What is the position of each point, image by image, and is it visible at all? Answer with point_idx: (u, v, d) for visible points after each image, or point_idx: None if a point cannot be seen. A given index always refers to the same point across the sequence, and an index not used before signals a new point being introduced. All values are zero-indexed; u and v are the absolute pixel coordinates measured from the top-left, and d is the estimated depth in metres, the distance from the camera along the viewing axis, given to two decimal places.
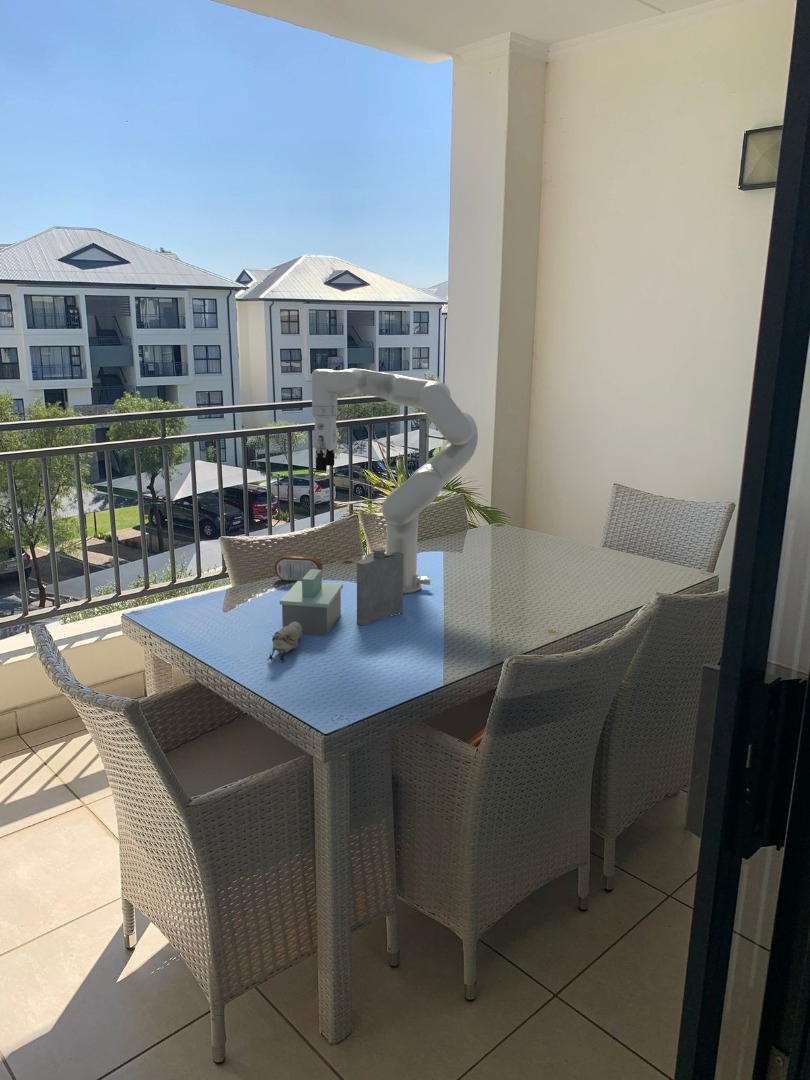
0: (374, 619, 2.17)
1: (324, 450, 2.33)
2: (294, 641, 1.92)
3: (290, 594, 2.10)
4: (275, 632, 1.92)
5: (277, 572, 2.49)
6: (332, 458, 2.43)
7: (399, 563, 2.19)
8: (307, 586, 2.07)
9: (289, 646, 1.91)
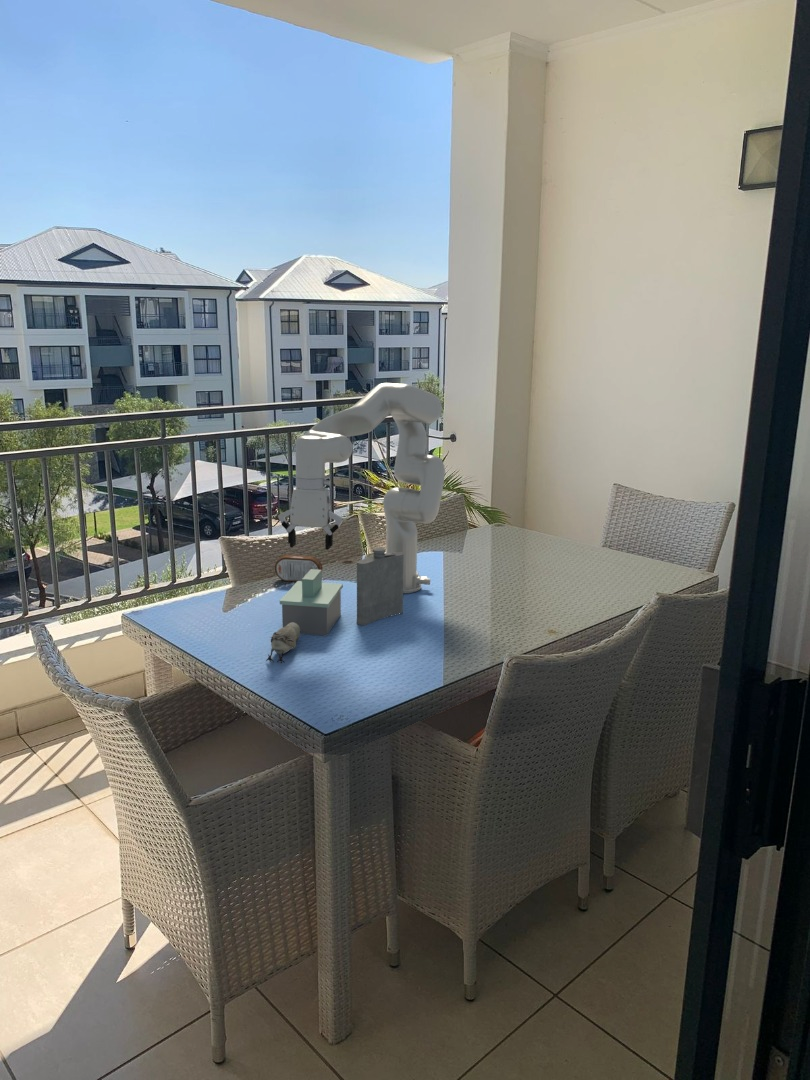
0: (374, 619, 2.17)
1: (329, 525, 2.08)
2: (292, 642, 1.92)
3: (290, 594, 2.10)
4: None
5: (277, 572, 2.49)
6: (295, 536, 2.10)
7: (399, 563, 2.19)
8: (307, 586, 2.07)
9: (287, 647, 1.91)
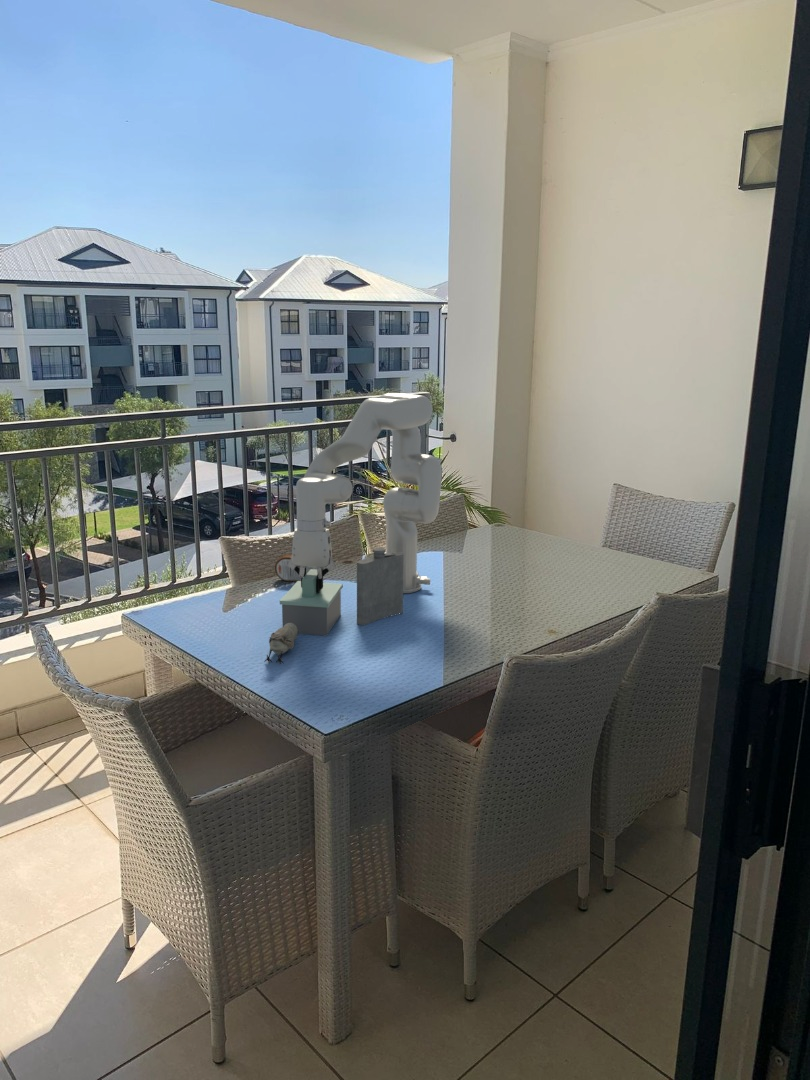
0: (374, 619, 2.17)
1: (323, 568, 2.11)
2: (290, 642, 1.92)
3: (290, 594, 2.10)
4: None
5: (277, 572, 2.49)
6: None
7: (399, 563, 2.19)
8: (307, 586, 2.07)
9: (286, 647, 1.91)
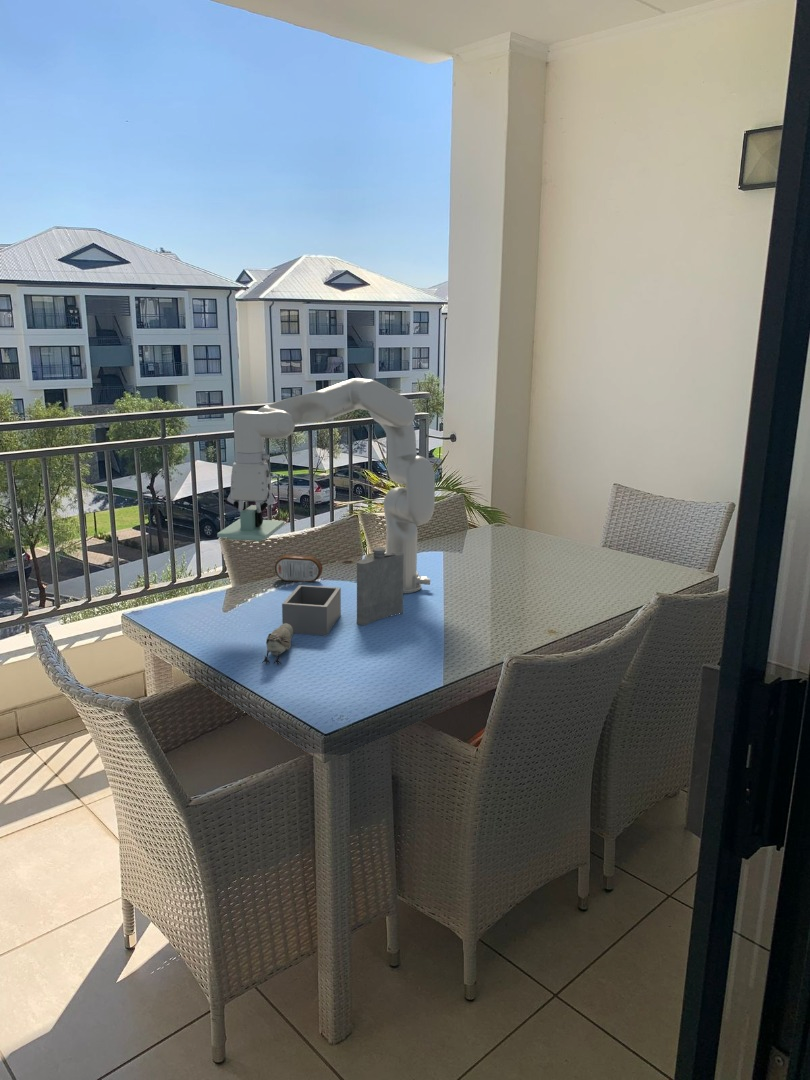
0: (374, 619, 2.17)
1: (263, 503, 2.11)
2: (287, 643, 1.91)
3: (229, 528, 2.10)
4: None
5: (277, 572, 2.49)
6: None
7: (399, 563, 2.19)
8: (246, 520, 2.07)
9: (283, 648, 1.90)
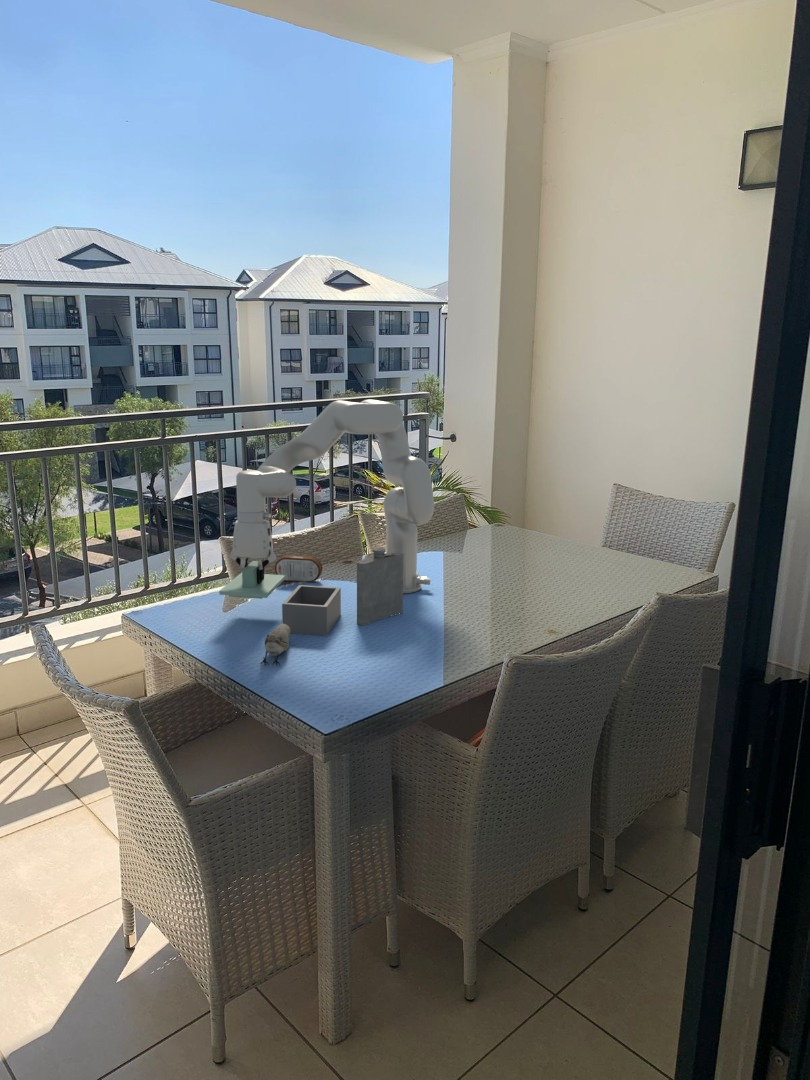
0: (374, 619, 2.17)
1: (264, 559, 2.15)
2: (286, 644, 1.91)
3: (231, 584, 2.14)
4: None
5: (277, 572, 2.49)
6: None
7: (399, 563, 2.19)
8: (247, 577, 2.11)
9: (282, 648, 1.90)
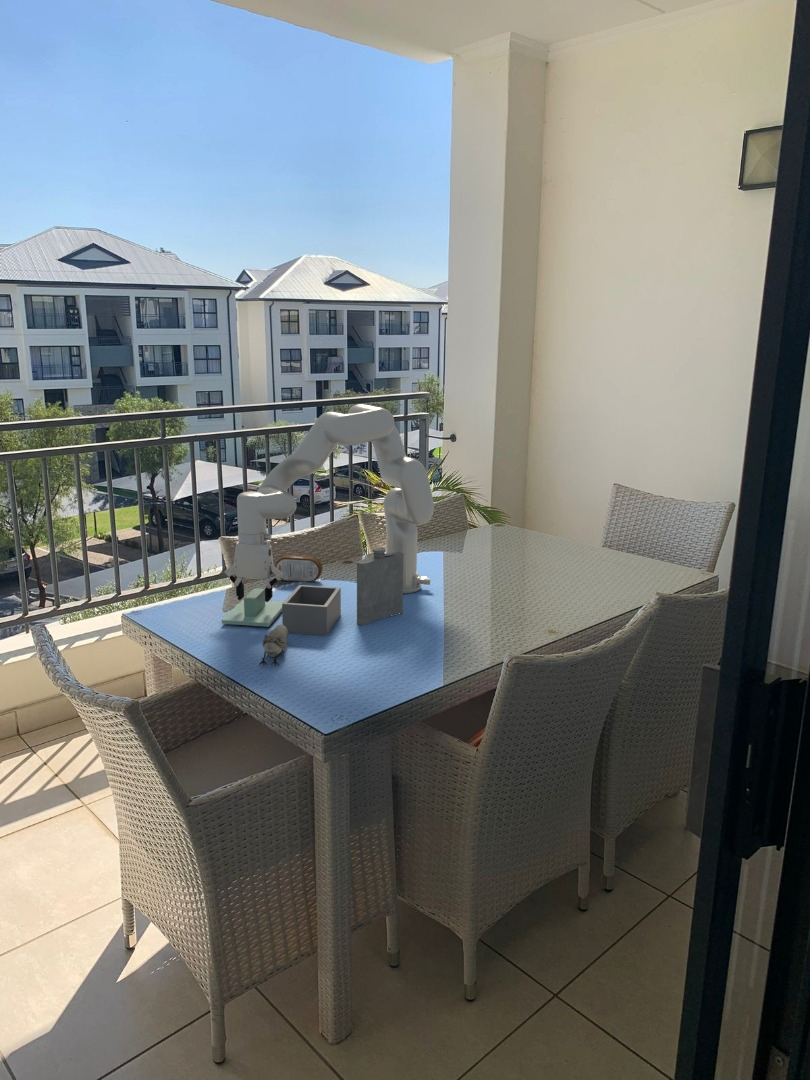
0: (374, 619, 2.17)
1: (270, 577, 2.17)
2: (284, 644, 1.91)
3: (233, 613, 2.17)
4: None
5: None
6: (243, 589, 2.19)
7: (399, 563, 2.19)
8: (249, 606, 2.14)
9: (280, 649, 1.90)
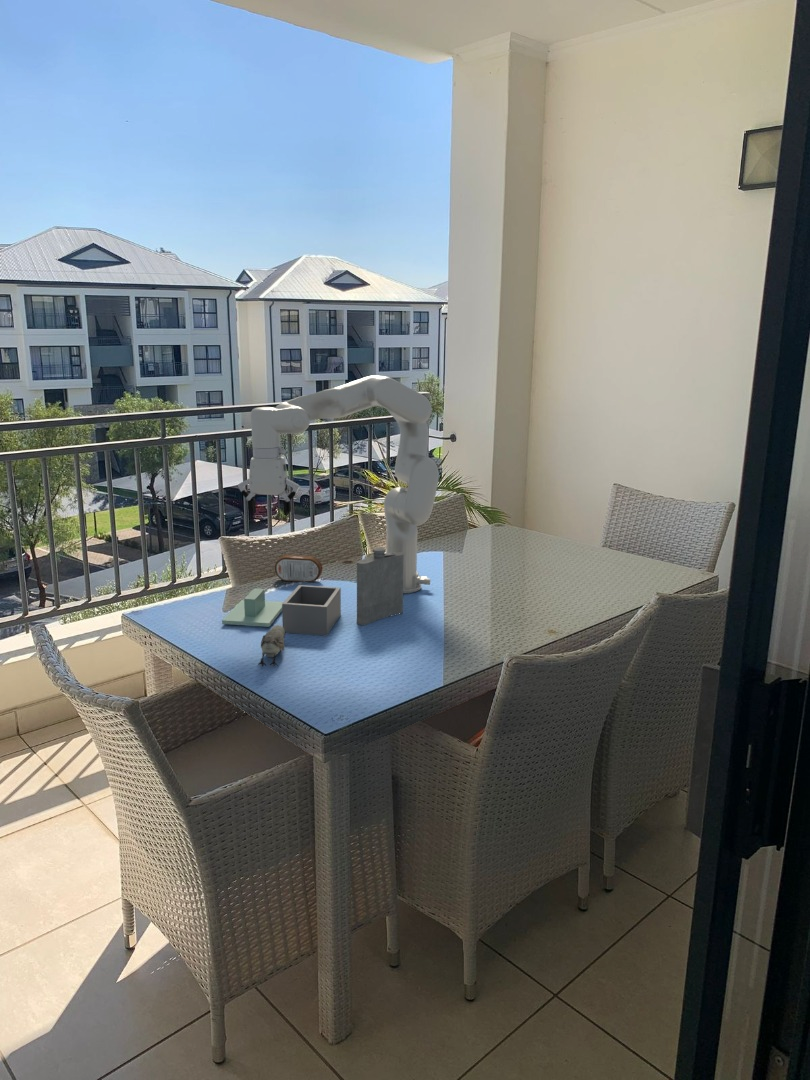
0: (374, 619, 2.17)
1: (287, 492, 2.18)
2: (282, 644, 1.90)
3: (233, 613, 2.16)
4: (263, 636, 1.90)
5: (277, 572, 2.49)
6: (255, 504, 2.20)
7: (399, 563, 2.19)
8: (249, 606, 2.14)
9: (278, 649, 1.89)
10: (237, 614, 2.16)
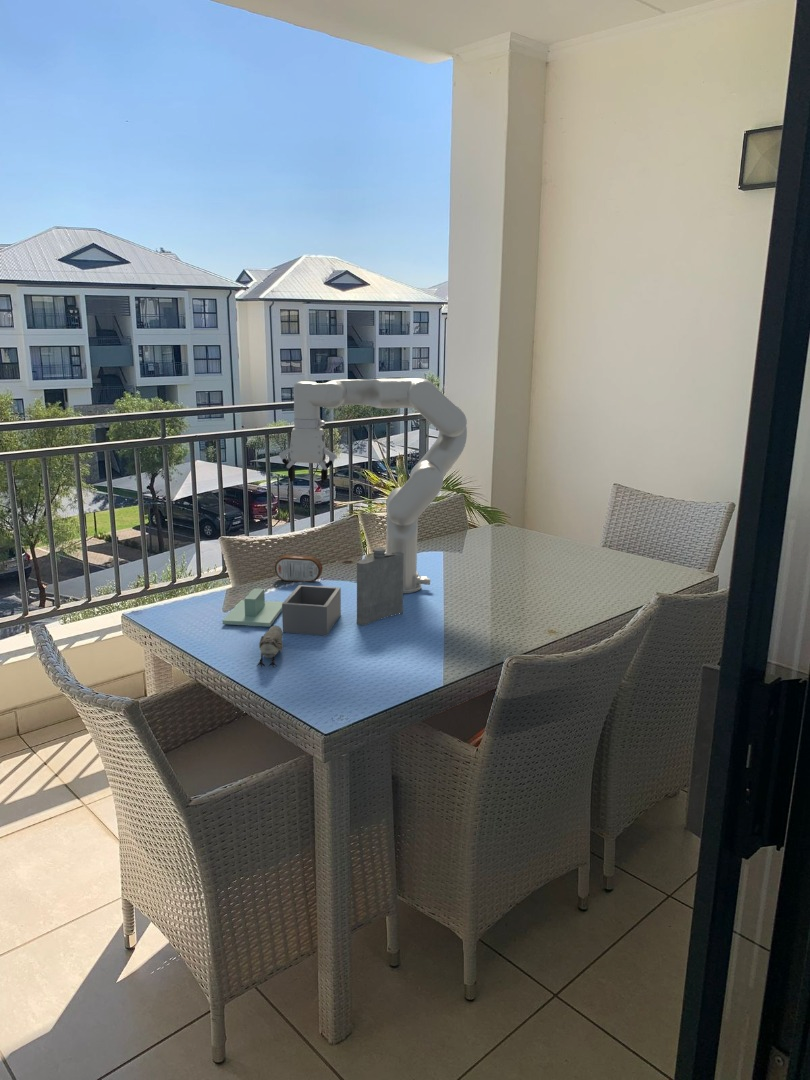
0: (374, 619, 2.17)
1: (324, 461, 2.35)
2: (281, 645, 1.90)
3: (233, 613, 2.16)
4: (261, 637, 1.89)
5: (277, 572, 2.49)
6: (294, 472, 2.37)
7: (399, 563, 2.19)
8: (250, 606, 2.14)
9: (277, 650, 1.89)
10: (237, 614, 2.16)
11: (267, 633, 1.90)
